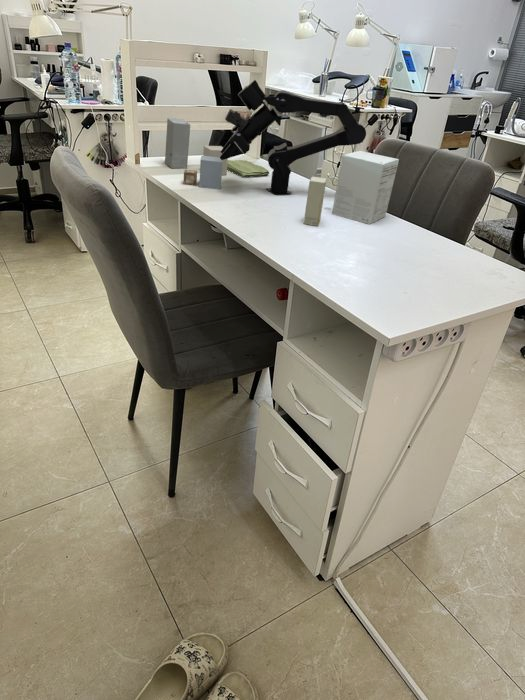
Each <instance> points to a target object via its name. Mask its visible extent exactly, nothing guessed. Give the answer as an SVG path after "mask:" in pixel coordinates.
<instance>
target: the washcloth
mask: <svg viewBox="0 0 525 700" xmlns="http://www.w3.org/2000/svg"><path fill="white" fill-rule="evenodd" d="M227 170H228V171H227V172H229V171H230V173H232V172H233V173H232V174H235V175H237V174H238V175H237V176H240V177H241V176H242V177H241V178H244V177H245V178H251V177H250V176H255V177H261V176H260V175H264V176H269V175H270V171H269V170H268V169H267V168H266V167H264V166H262V165H258V164H255V163H253V162H251V161H248V160H246V159H238V160H237V159H236V160H230V159H228V161H227Z"/></svg>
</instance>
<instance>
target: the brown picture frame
mask: <svg viewBox="0 0 525 700" xmlns="http://www.w3.org/2000/svg"><path fill="white" fill-rule="evenodd" d="M197 178H198V170H194V169H193V170H191V169H184V171H183V185H184V186H191V187H192V186H194V187H195V186H197V181H198V180H197Z"/></svg>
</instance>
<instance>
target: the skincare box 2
mask: <svg viewBox="0 0 525 700" xmlns="http://www.w3.org/2000/svg"><path fill="white" fill-rule="evenodd" d="M308 183H309V184H308V190H307V197H306V204H305V212H304V218H303V219H304V220H303V224H305V225H308V224H310V225H309V226H314V225H315V226H316V227H318V226H319V224H320V223H321V222H320V221H321V216H322V210H323V205H324V198H325V197H324V196H325V192H326V184H327V178H325V177H318V176H311V177H310V179H309V182H308Z"/></svg>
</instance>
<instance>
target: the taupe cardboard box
mask: <svg viewBox="0 0 525 700" xmlns="http://www.w3.org/2000/svg"><path fill="white" fill-rule="evenodd" d="M223 147H224V146H222V145H203V153H202V156H211V157H220V156H221V155H222V153H221V150H222V149H223ZM228 160H229V158H227V159H224V160H223V164H222V176H227V175H228V174H227V173H228V171H227V161H228Z"/></svg>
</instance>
